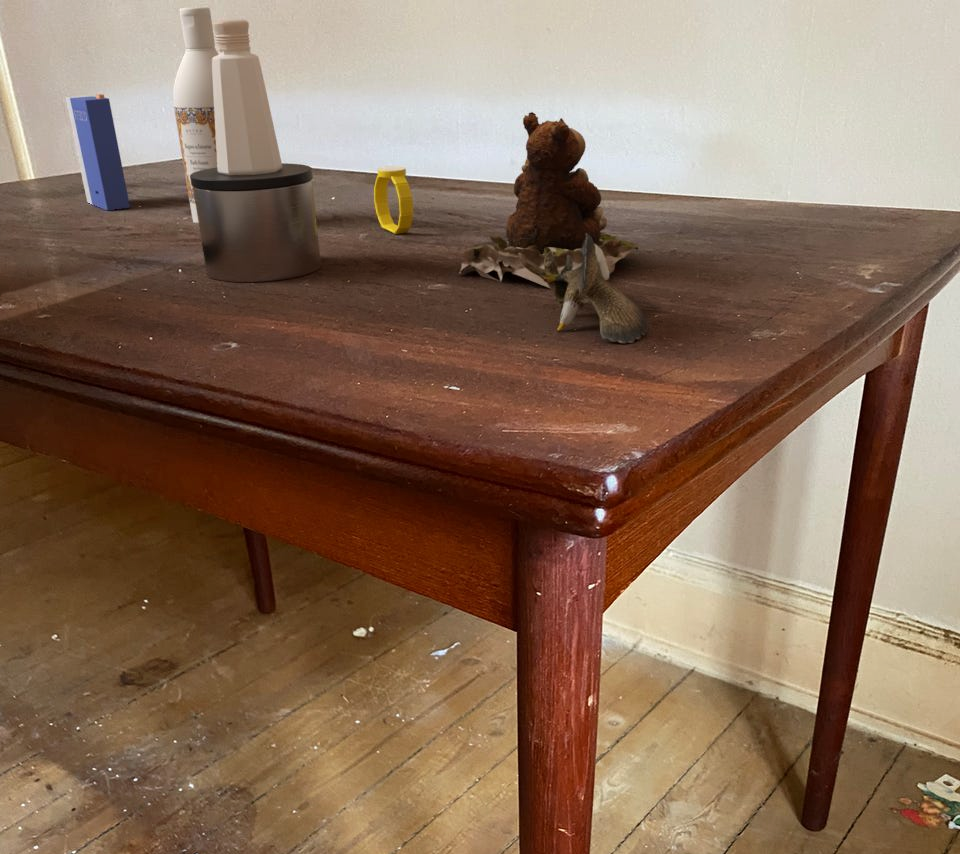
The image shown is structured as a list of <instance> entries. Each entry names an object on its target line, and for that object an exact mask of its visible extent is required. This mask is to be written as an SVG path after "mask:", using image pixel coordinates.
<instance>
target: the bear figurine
mask: <svg viewBox="0 0 960 854" xmlns="http://www.w3.org/2000/svg"><path fill="white" fill-rule="evenodd" d="M522 124H523V129H525V131H526V133H527V136H528V138H527V140H526V144H525V150H526V159H525V161H524V164H523V165H522V166H521V171H522V172H521V173H520V174H519V175H518V176H517V177H516V178H515V180H514V184H513V193H514V196H516V198H517V202H516V203H515V204H516V205H515V211H514V212H513V213H512V214H510V215H509V217H508V219H507V222H506V233H505V237H506V240H507V241H506V240H505V239H503V238H502V237H501V236H500V235H499V234H490V235H489V239H490V240H491V241H492V242H493V243H494V244H493V245H492V244H489V243H488V244H481V245H478V246H475V247H471V248H468V249H466V250H465V251H464V252H463V253H462V255H461V257H462V258H463V259H464V260H465V261H462V262H461V268H460V270H459V271H458V274H460V275H461V274H462V271H463V269H465V268H472V269H474V270H475V271H476V272H477V273H478V274H479V275H480V277H483V278H486V279H490V280H493V281H496V282H502V280H503V276H504V275H505V273H506V272H509V273H510V272H511V274H512V275H516V276H518V277H521V278H524V279H526V280H529V281H531V282H534V283H536V284H539V285H541V286H544V287H546V288H548V289H551V288H550V287H549V285H548V284H547V282H544V280H543V279H542V278H540V277H539V276H538V275H536V274H534V273H532V272H530V271H529V270H527V269H526V268H525V267H524V266H523V264H522V262H521V261H520V259H519V257H518V253H522V254H523V255H524V256H525V257H526V258H527V259H528V260H529V261H530V262H532V263H533V264H535V265H537V266H538V267H540V268H542V269H544V268H545V267H544V259H545V256H546V254H547V253H549V251H552V253H553V256H554V259H555V261H556V264H557V269H558V273H559V274H561V271H562V269H563V268H564V266H565V264H566V262H567V255H569V256H570V257H572V263H573V268H572V269H571V270H574V269H576V268H577V267H579V266H581V264H582V262H583V256H582V251H581V248H583V247H582V245H583V243H584V240H585V238H586V236H585V234H586V233H587V234H588V235H589V236H591V237H592V239H593V241H594V244H596V245H597V246H598V247H599V248H600V249H601V250H602V251H603V254H604V257H605V259H606V263H607V267H608V270H609V275H611V274H612V273H613V272H614V271H615V268H616V263H617V262H618V261H620V260H624V258H625V257H626V256H627V255H628V254H629V253H630V252H632V251H633V250H636V251H638V250H639V246H638V245H637V244H635V243H633V242H630V241H627V240H623V239H620V238H618V237H617V236H616V235H611V234H608V233H605V232H601V231H603V230H605V229H606V227H607V225H608V220H607V217H606V216H605V215H603V213H604V211H603V210H604V209H603V208H602V206H600V205H601V202H602V195H601V193H600V190H599V188H598V186H595V184H594V183H593V182H591V181H590V180H589V174H588V173H587V171H586V170H585V169H584V168H581V167H578V168H576V166H577V165H578V164H579V162H580V161H581V160H582V157H583V156H584V154H585V151H586V141H585V138H584V136H583V135H582V134H581V133H580V132H579V131H578V130H576V129H574V128H573V127H569V125H568V124H567V123H566V122H565V121H564V119H563V118H562V117H561V118H559V120H555V121H551V120H546V121H544V122H543V121H542V122H541V123H540V122H539V117H538V116H537V114H536V113H535V112H532V111H531V112H528V115H524V117H523V118H522ZM575 168H576V170H574V169H575ZM492 271H495V272H497V275H498V278H499V279H497V278H495V277H493V276H492V275H489V273H490V272H492Z"/></svg>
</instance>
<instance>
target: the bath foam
mask: <svg viewBox="0 0 960 854" xmlns="http://www.w3.org/2000/svg"><path fill="white" fill-rule="evenodd" d="M179 16H180V23H181V30H182V36H183V41H184V47H185V52H184V55H183V57H182V59H181V62H180V64H179V66H178V70H177V72H176V76H175V78H174V79H175V80H174V83H173V92H172V93H173V94H172V95H173V97H172V98H173V99H172V100H173V109H174V115H175V122H176V127H177V129H176V130H177V133H178V141H179V147H180V152H181V159H182V165H183V170H184V177H185V183H186V187H187V188H186V189H187V195H188V201H189V206H190V212H191V218H192V223H194V224H195V223H196V224H199V222H198V216H197V209H196V203H195V197H194V191H193V187H192V185H191V180H190V175H191V174H192V173H194V172H197V171H200V170H205V169H210V168H216V167H217V152H216V133H215V115H214V96H213V78H212V58H213V57H214V56H217V55H218V50H217V49H216V42H215V36H214V35H215V34H214V28H213V21H212V14H211V9H210V7H207V6H206V7H182V8H179Z"/></svg>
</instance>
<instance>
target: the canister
mask: <svg viewBox="0 0 960 854" xmlns="http://www.w3.org/2000/svg"><path fill="white" fill-rule="evenodd" d="M313 178H314V173H313V168H312V167H311V166H309V165H306V164H301V163H289V162H288V163H287V162H286V163H285V162H282V169H281V170H279V171H276V172H274V173H266V174H258V175H232V176H230V175H225V174H220V173H218V171H217V167H216V168H210V169H205V170H200V171H197V172H194V173H192V174H191V175H190V180H191V185H192V187H193V191H194V197H195V203H196V209H197V216H198V222H199V223H198V227H199V233H200V240H201V247H202V252H203V258H204V265H205V272H206V275H207V276H208V277H209V278H211V279H214V280H217V281H221V282H230V283H264V282H273V281H274V282H275V281H282V280H289V279H295V278H299V277H303V276H307V275H310V274H312V273H315V272H317V271H319V270H320V268H321V267H322V262H321V261H322V260H321V251H320V241H319V240H320V239H319V233H318V232H319V231H318V222H317V213H316V203H315V194H314V184H313Z"/></svg>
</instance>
